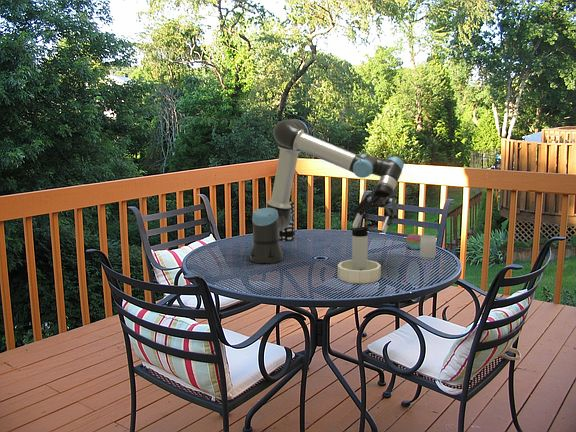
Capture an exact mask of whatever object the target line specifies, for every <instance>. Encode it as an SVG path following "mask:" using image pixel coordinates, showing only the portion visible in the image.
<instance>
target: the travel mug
mask: <svg viewBox="0 0 576 432" xmlns="http://www.w3.org/2000/svg"><path fill="white" fill-rule="evenodd" d="M368 231H369V227H367V226H359V227H358V226H357V228H352V230H351V260H352V270H357V271H363V270H367V266H368V260H369V259H368V256H369V255H368V252H369V250H368V247H369V246H368V244H369V242H368V240H369V239H368V237H369V236H368V235H369V234H368Z"/></svg>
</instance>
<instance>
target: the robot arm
mask: <svg viewBox="0 0 576 432" xmlns="http://www.w3.org/2000/svg"><path fill="white" fill-rule="evenodd" d="M272 132H273V138H274V140H275V142H276V143H277V147H278V149H279V155H278V159H277V166H276V172H275V177H274V180H273V181H274V182H273V188H272V193H271V198H270V199H269V200H268V201H267V202H266V207H263V208H258V209H256V210H254V211H253V213H252V217H251V221H252V237H253V239H252V240H253V242H252V243H253V244H252V248H251V251H250V254H249V255H250V256H249V260H251V261H252V262H251V261H250V262H251V263H254V262H255V263H254V264H258V263H271V264H276V263H275V262H277V263H279V261H280V262H282V261H283V260H284V256H283V251H282V249H281V247H280V243H279V241H280V240H279V232H280V231H282V230H284V229H285V228H287V227H288V225H289V224H290V223H291V220H292V214H291V212H290V210H291V205H290V204H289V202H290V198H291V194H292V188H293V183H294V178H295V173H296V172H295V171H296V167H297V162H298V157H299V154H300V153H302V152H304V153H306V154H308V155H310V156H313V157H315V158H318V159H320V160H323V161H324V162H328V163H330V164H332V165H335V166H336V167H338V168H341V169H344V170H346V171H349V172H351V173H353V174H354V175H355V176H357V178H362V179H363V178H365V179H366V178H367V177H369V176H371V175H373V176H377V177H380V178H379V180H378V182H377V185H376V187H375V189H374V193H373V195H372V196H369V194H367V195H365V196H364V198H363V199H362V200H361V201H360V202H359V203H358V205H356V206H355V207H354V208H353V209H352V212H353V214H354V217H353V223H352V229H354V228H358V226H359V223H360V221H361V219H362V215H363V214H365V213H366V212H368V211H369V210H371V209H374V208H380V209H382V208H384V209H385V211H386V213H387V215H388V216H386V217H385V220H384V222H383V225H382V227H381V231H382V233H383V234H386V232H387V231H388V228H389V227H390V226H391V225H392V222H393V220H398V219H399V215H398V210H397V203H398V201H397V199H396V197H395V196H393V194H394V191H395V189H396V186H397V184H398V182H399V179H400V177H401V174H402V172H403V169H404V167H405V166H404V164H405V163H404V161H403V160H402V159H401V158H399V157H397V156H390V157H388V158H387V160H386V159H383V158H379V157H375V156H374V155H373V156H372V155H370V154H364V153H361V154H360V155H358V154H355V153H353V152H351V151H349V150H346V149H343V148H342V147H339V146H336V145H334V144H332V143H329V142H327V141H324V140H322V139H319V138H317V137H315V136H312V135H310V134H309V128H308V126H307V125H306V123H304V121H302V120H300V119H297V118H292V119H282V120H281V121H278V123H276V124H275V126H274V128H273V131H272ZM390 203H391V207H392V212H391V211H390V209H389V206H388V204H390Z"/></svg>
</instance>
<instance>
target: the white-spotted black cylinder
mask: <svg viewBox="0 0 576 432" xmlns="http://www.w3.org/2000/svg"><path fill="white" fill-rule="evenodd" d="M289 204H290V205H291V210H290V212H291V214H292V220H291V223H290V224H289V225H288V227H287V228H285V229H284V230H282V231H280V232H278V240H279V241H280V242H294V241H295V240H296V235H295V234H296V232H295V231H296V230H295V229H296V227H295V225H296V224H295V223H296V222H295V202H294V201H289Z"/></svg>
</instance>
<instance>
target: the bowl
mask: <svg viewBox="0 0 576 432" xmlns="http://www.w3.org/2000/svg"><path fill="white" fill-rule="evenodd" d="M381 270H382V265H381V264H380V263H379V262H377V261H375V260H374V261H373V260H371V259H370V260H369V259H368V266H367V270H363V271H357V270H352V259H347V260H343V261H340V262H339V263H338V264H337V278H338V279H339V280H340V281H342V282H346V283H349V284H350V283H351V284H358V285H359V284H360V285H361V284H372V283H375V282H378V281H379V280H380V279H381V278H382V275H381V274H382V271H381Z"/></svg>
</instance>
